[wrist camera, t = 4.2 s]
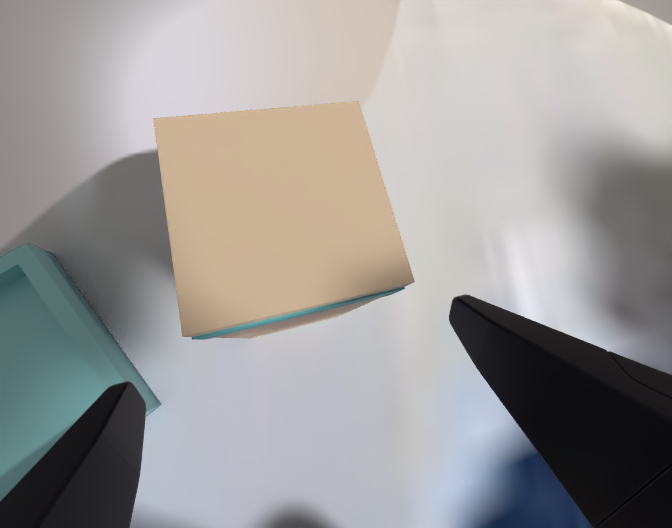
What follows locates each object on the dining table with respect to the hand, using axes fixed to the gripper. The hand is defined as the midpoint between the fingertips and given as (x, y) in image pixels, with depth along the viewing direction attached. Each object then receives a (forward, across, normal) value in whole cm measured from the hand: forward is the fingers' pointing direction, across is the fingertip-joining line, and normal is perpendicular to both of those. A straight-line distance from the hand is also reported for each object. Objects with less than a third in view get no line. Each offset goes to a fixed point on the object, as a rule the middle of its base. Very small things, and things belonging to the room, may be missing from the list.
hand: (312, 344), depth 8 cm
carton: (+10, 0, +5) cm, 11 cm away
